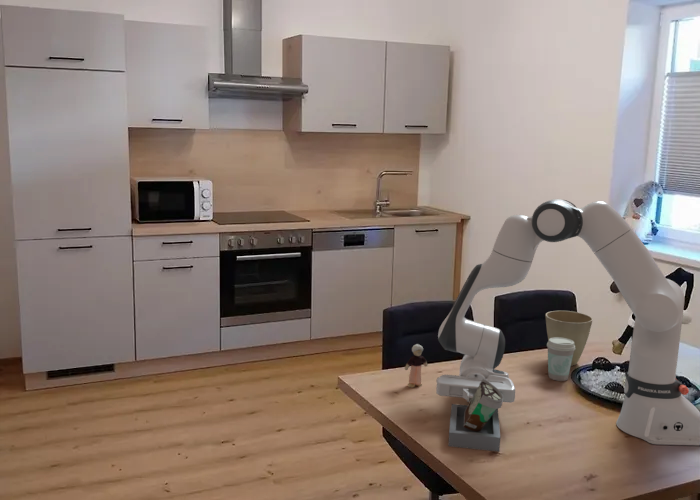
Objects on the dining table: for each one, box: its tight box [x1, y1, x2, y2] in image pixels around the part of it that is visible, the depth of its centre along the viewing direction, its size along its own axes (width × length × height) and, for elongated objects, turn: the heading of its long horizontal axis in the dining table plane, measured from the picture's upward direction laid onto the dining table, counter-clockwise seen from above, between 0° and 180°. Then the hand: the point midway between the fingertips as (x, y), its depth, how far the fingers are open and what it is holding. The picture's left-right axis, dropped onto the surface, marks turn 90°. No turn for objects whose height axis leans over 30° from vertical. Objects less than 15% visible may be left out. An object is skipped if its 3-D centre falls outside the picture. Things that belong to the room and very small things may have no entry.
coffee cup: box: [546, 337, 575, 382], centre depth 212 cm, size 8×8×12 cm
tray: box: [448, 403, 501, 452], centre depth 171 cm, size 12×18×4 cm, turn 170°
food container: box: [463, 379, 504, 432], centre depth 170 cm, size 12×6×10 cm, turn 169°
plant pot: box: [545, 310, 594, 367], centre depth 227 cm, size 15×15×16 cm
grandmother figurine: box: [404, 343, 428, 388], centre depth 202 cm, size 8×4×13 cm, turn 129°
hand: (475, 399), depth 172 cm, fingers closed on food container
